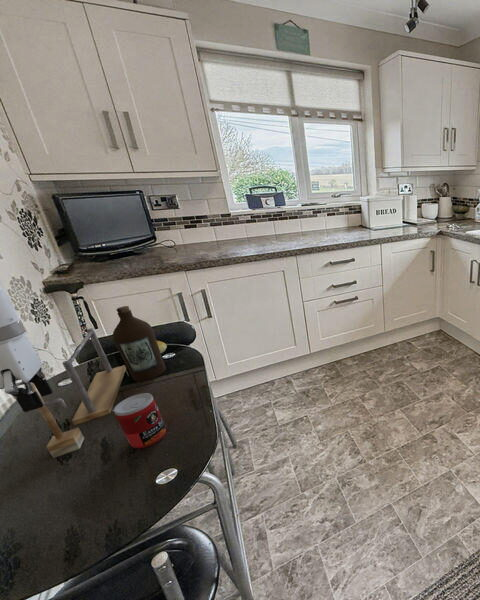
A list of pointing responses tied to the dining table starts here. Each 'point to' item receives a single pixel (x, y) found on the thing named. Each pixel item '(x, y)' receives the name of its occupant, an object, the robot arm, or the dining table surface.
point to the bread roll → (161, 346)
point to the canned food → (140, 420)
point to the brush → (59, 431)
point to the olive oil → (138, 346)
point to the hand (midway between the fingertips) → (39, 401)
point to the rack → (95, 384)
